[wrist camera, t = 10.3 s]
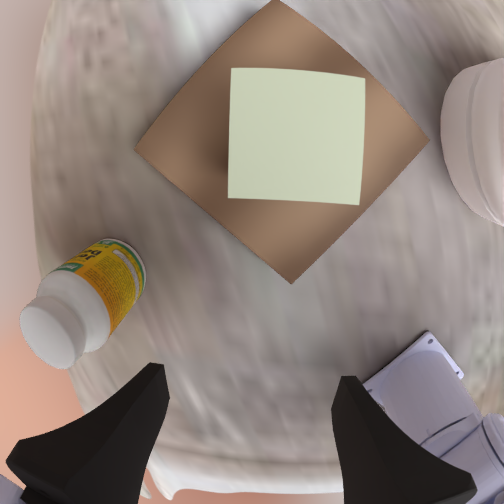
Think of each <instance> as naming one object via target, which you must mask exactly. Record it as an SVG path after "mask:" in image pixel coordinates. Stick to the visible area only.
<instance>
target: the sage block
mask: <svg viewBox="0 0 504 504" xmlns="http://www.w3.org/2000/svg"><path fill="white" fill-rule="evenodd" d="M364 129H365V78H360V77H354V76H347V75H340V74H333V73H325V72H315V71H305V70H292V69H274V68H231V88H230V119H229V161H228V198H243V199H269V200H290V201H308V202H323V203H337V204H350V205H359V202H360V191H361V180H362V166H363V151H364Z"/></svg>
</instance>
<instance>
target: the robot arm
mask: <svg viewBox="0 0 504 504" xmlns="http://www.w3.org/2000/svg"><path fill="white" fill-rule="evenodd" d="M430 339H431V340H430ZM429 340H430V341H429ZM463 376H464V373H463V372H462V371H461V369H460V368H459V367H458V365H457V364H456V363H455V362H454V360H453V359H452V358H451V356H450V355H449V354H448V353H447V351H446V350H445V349H444V348H443V347H442V345H441V344H440V343H439V342H438V340H437V339H436V338H435V337H434V336H433V334H432V333H431V332H426V333H424V334H423V335H422V336H421V337H420V338H419V339H418V340H417V341H415V342H414V343H413V344H412V345H411V346H410V347H409V348H407V349H406V350H405V351H404V352H403V353H402V354H400V355H399V356H398V357H397V358H396V359H394V360H393V361H392V362H391V363H390V364H388V365H387V366H386V367H385V368H383V369H382V370H381V371H379V372H378V373H377V374H376V375H374V376H373V377H372V378H370V379H369V380H368V381H366V382H365V383H364V384H362V383H361V382H360V381H359V379H358V378H357V377H356V376H341V379H340V383H339V386H338V389H337V392H336V395H335V399H334V402H333V405H332V408H331V412H332V425H333V432H334V437H335V442H336V447H337V451H338V456H339V461H340V465H341V470H342V477H343V488H344V504H504V417H503V416H502V415H501V414H498V413H497V414H493V413H488V414H487V415H486V416H485V417H483V416H482V414H481V412H480V411H479V409H478V407H477V406H476V404H475V402H474V401H473V399H472V397H471V396H470V394H469V393H468V391H467V389H466V388H465V386H464V385H463V383H462V382H461V380H460V379H462V378H463ZM369 389H370V390H369ZM169 399H170V396H169V391H168V386H167V381H166V375H165V369H164V365H163V364H157V363H151V362H150V363H149V364H147V365H146V366H145V367H144V368H143V369H142V370H141V371H140V372H139V373H138V374H137V375H136V376H134V377H133V378H132V379H131V380H130V381H129V382H128V383H127V384H126V385H124V386H123V387H122V388H121V389H120V390H119V391H118V392H116V393H115V394H114V395H113V396H111V397H110V398H109V399H107V400H106V401H105V402H104V403H102V404H101V405H99V406H98V407H97V408H95V409H94V410H92V411H91V412H89V413H87V414H86V415H84V416H82V417H81V418H79V419H77V420H75V421H73V422H71V423H69V424H67V425H65V426H63V427H60V428H58V429H55V430H53V431H50V432H48V433H45V434H41V435H38V436H35V437H30V438H26V439H22V440H19V441H18V442H17V444H16V445H15V447H14V448H13V450H12V452H11V453H10V455H9V456H8V458H7V459H6V464H7V465H8V467H9V468H10V470H11V471H12V472H13V473H14V474H15V475H16V476H17V477H18V478H19V479H20V480H21V481H22V482H23V483H24V484H25V485H26V488H25V490H23V489H22V488H20V487H19V486H17V485H16V484H14V483H13V482H12V481H10V480H8V479H7V478H6V477H4V476H3V475H1V474H0V504H138V499H139V495H140V490H141V485H142V481H143V477H144V473H145V469H146V465H147V462H148V459H149V456H150V454H151V451H152V449H153V446H154V444H155V441H156V439H157V436H158V434H159V431H160V429H161V426H162V424H163V421H164V419H165V415H166V411H167V407H168V403H169ZM376 401H377V402H378V403H379V404H381V405H382V406H384V408H385V411H386V413H387V414H386V413H385V412H384V411H383V410H382V409H381V407H380V406H379V405H378V404H377V403H376Z"/></svg>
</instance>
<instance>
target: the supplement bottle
mask: <svg viewBox="0 0 504 504" xmlns="http://www.w3.org/2000/svg"><path fill="white" fill-rule="evenodd" d="M145 283H146V271H145V267H144V264H143V262H142V260H141V258H140V256H139V255H138V253H137V252H136V251H135V250H134V249H133V248H132V247H131V246H129V245H128V244H126V243H124V242H122V241H120V240H116V239H103V240H100V241H98V242H97V243H95V244H93V245H92V246H90V247H89V248H87V249H85V250H84V251H82V252H81V253H79V254H78V255H76V256H75V257H73V258H72V259H70V260H69V261H67V262H66V263H64V264H63V265H61V266H60V267H58V268H57V269H55V270H54V271H52V272H50V273H49V274H48V275H47V276H46V277H45V278H44V279H43V280H42V282H41V283H40V285H39V288H38V291H37V297H36V298H35V299H34V300H32V302H30V303H29V304H28V305H27V306H26V307H25V308H24V309H23V310H22V312H21V314H20V328H21V331H22V334H23V336H24V338H25V340H26V342H27V343H28V345H29V347H30V348H31V349H32V350H33V352H34V353H35V354H36V355H37V356H38V357H39V358H40V359H42V360H43V361H44V362H45V363H47V364H49V365H50V366H53V367H55V368H59V369H67V368H70V367H71V366H73V365H74V364H75V362H76V361H77V360H78V359H79V357H81V356H82V354H83V353H88V352H92V351H95V350H97V349H99V348H100V347H101V346H102V345H103V344H104V343H105V342H106V341H107V339H108V338H109V337H110V335H111V334H112V333H113V331H114V330H115V328H116V327H117V326H118V324H119V323H120V322H121V320H122V319H123V318H124V317H125V315H126V314H127V313H128V311H129V310H130V309H131V308H132V306H133V305H134V304H135V302H136V301H137V300H138V299H139V297H140V296H141V294H142V293H143V291H144V288H145Z"/></svg>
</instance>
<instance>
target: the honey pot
mask: <svg viewBox="0 0 504 504" xmlns="http://www.w3.org/2000/svg"><path fill="white" fill-rule="evenodd" d="M440 137H441V143H442V149H443V155H444V161H445V164H446V167H447V169H448V172H449V175H450V179H451V181H452V183H453V185H454V187H455V188H456V190H457V192H458V194H459V196H460V197H461V199H462V200H463V201H464V202H465V203H466V204H467V206H468V207H469V208H470V209H471V210H472V211H473V212H475V213H476V214H478V215H480V216H482V217H483V218H485V219H487V220H490V221H492V222H494V223H496V224H498V225H500V226H503V227H504V58H500V59H496V60H492V61H488V62H485V63H481V64H478V65H474V66H471V67H468V68H465V69H463V70H462V71H461V72H460V73H459V74H457V75H456V76H455V77H454V78H453V79H452V81H451V83H450V85H449V87H448V89H447V91H446V93H445V96H444V101H443V106H442V110H441V134H440Z"/></svg>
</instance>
